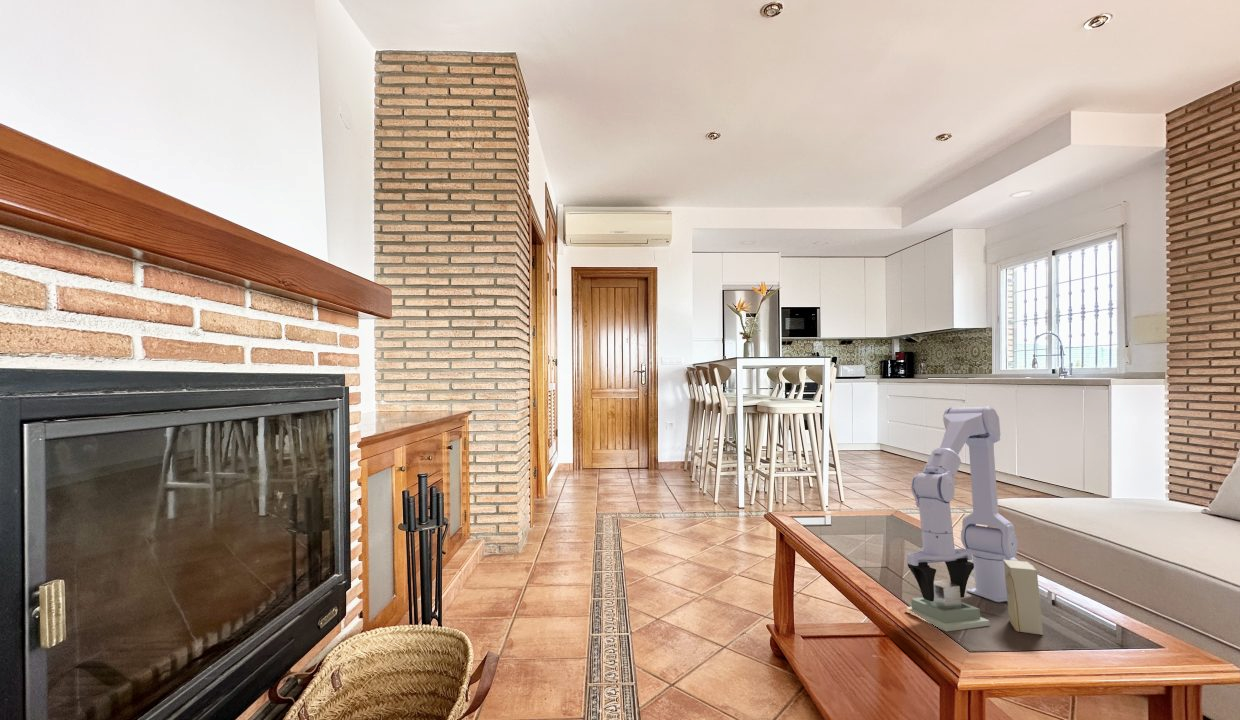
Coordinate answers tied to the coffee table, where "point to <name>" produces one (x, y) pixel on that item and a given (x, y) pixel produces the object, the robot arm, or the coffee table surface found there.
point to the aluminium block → (946, 596)
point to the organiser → (948, 615)
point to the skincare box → (1023, 596)
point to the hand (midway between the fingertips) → (943, 597)
